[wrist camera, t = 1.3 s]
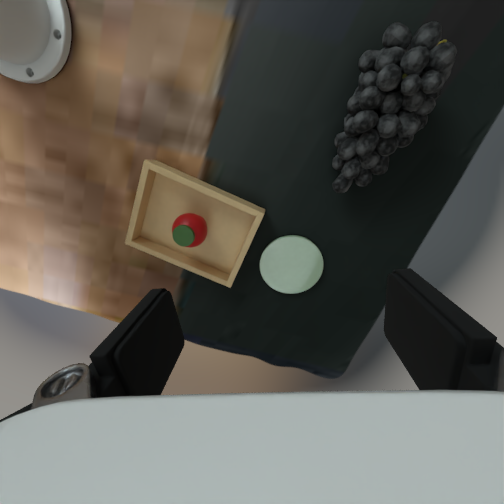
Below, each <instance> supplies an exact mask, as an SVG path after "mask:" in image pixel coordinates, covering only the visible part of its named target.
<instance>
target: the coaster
mask: <svg viewBox="0 0 504 504" xmlns="http://www.w3.org/2000/svg"><path fill="white" fill-rule="evenodd" d="M322 271H323V257H322V255H321V252H320V250H319V249H318V247H317V246H316V245H315V244H314V243H313V242H312V241H310V240H309V239H307V238H305V237H302V236H298V235H287V236H282V237H279V238H277V239H275V240H273V241H272V242H271V243H269V244H268V245H267V246H266V248H265V249H264V251H263V252H262V255H261V258H260V272H261V275H262V277H263V279H264V281H265V282H266V283H267V284H268V285H269V286H270V287H271V288H273V289H274V290H276V291H279V292H282V293H288V294H294V293H300V292H303V291H305V290H307V289H309V288H311V287H312V286H313V285H314V284H315V283H316V282H317V281H318V280H319V278H320V276H321V274H322Z"/></svg>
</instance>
